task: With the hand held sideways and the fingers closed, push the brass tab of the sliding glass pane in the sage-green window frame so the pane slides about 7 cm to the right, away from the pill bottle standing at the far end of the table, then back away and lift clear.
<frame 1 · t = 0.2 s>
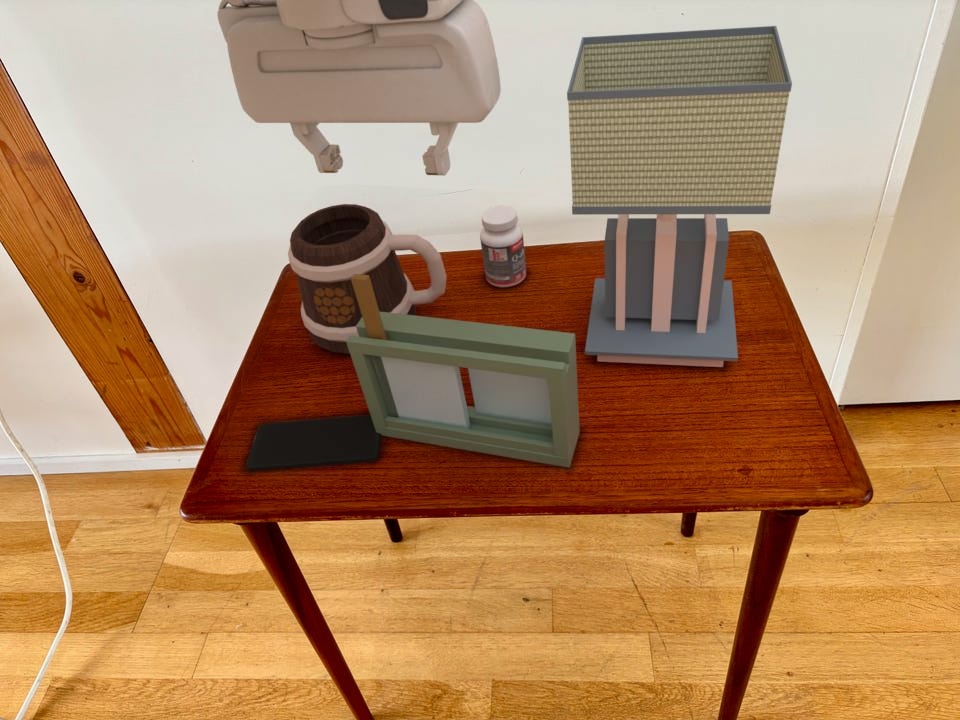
hand: (384, 171, 57), 32 cm above the table, tool pointing down, fingers open, 8 cm apart
window frame: (476, 433, 78), on the table
window pane: (413, 357, 71), point 11 cm above the table, slide at 0.0 cm
desk lamp: (659, 331, 87), on the table
smartphone: (318, 445, 80), on the table
pill bottle: (506, 277, 99), on the table
mug: (381, 321, 95), on the table
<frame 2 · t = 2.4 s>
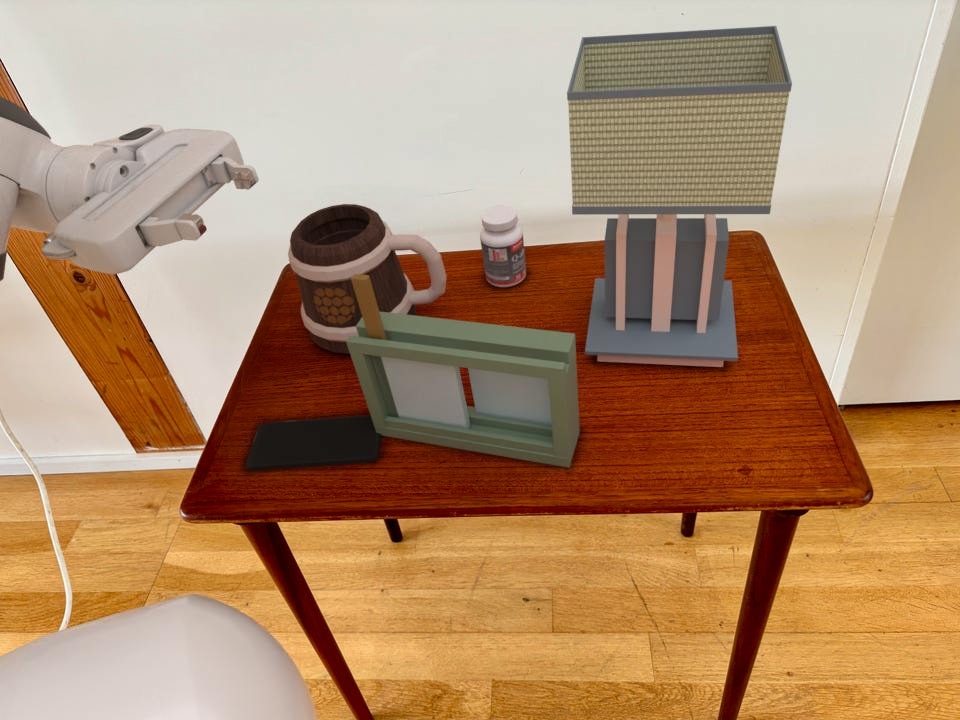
hand: (227, 201, 65), 28 cm above the table, tool horizontal, fingers open, 7 cm apart
nothing on the table moved.
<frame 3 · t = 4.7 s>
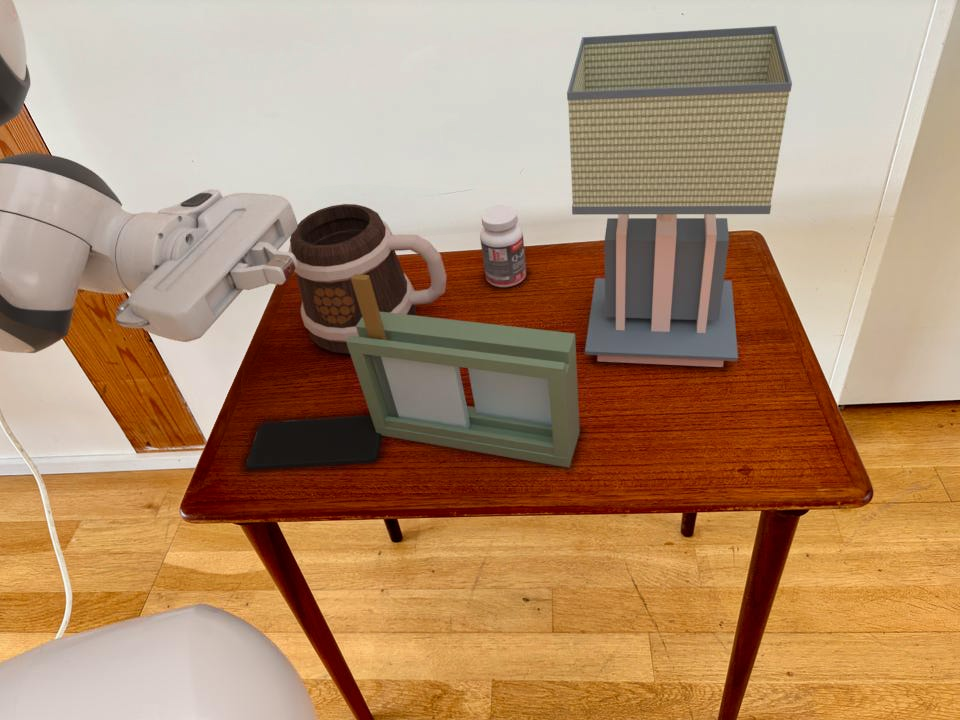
hand: (289, 268, 68), 21 cm above the table, tool horizontal, fingers closed
nothing on the table moved.
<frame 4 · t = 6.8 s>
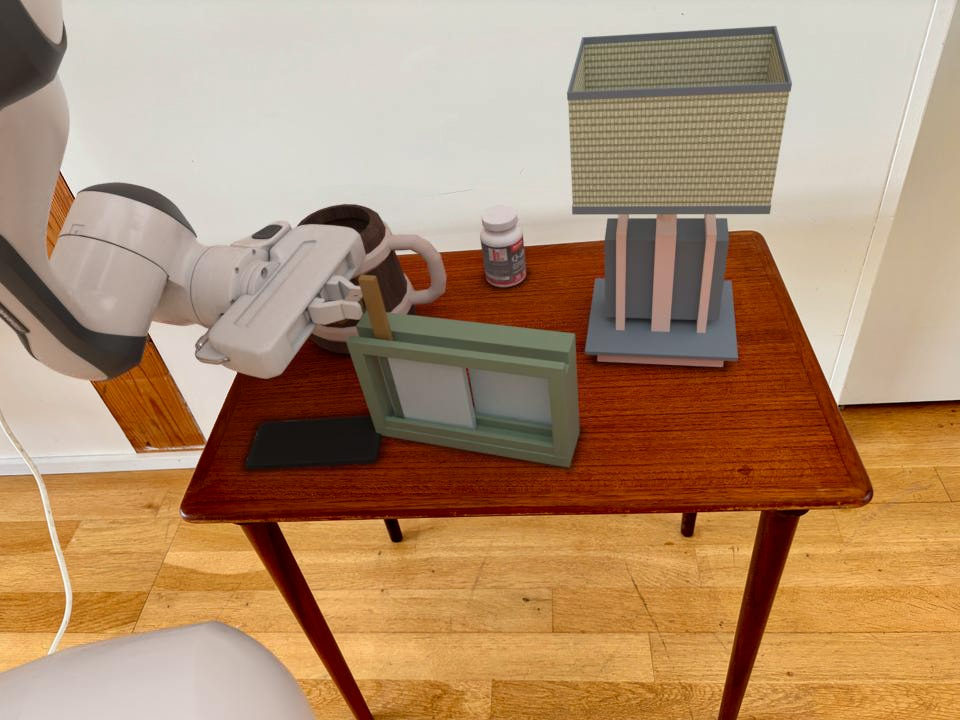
hand: (366, 303, 68), 18 cm above the table, tool horizontal, fingers closed, pressing on window pane
window pane: (420, 358, 71), point 11 cm above the table, slide at 0.7 cm, touching gripper
everything else where it was.
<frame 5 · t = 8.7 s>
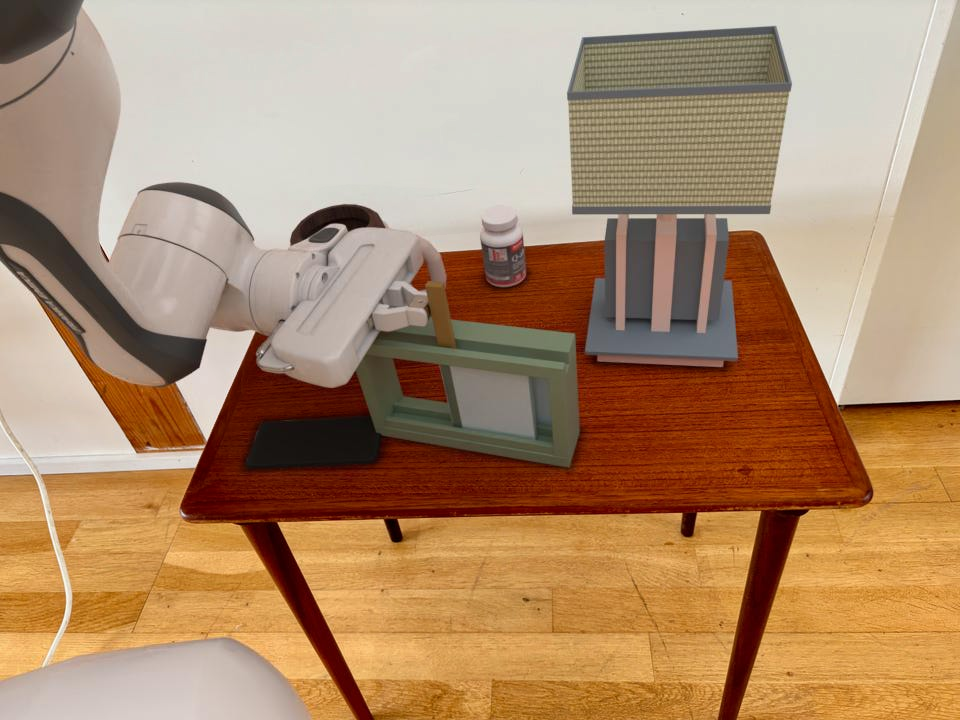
hand: (431, 310, 66), 18 cm above the table, tool horizontal, fingers closed, pressing on window pane
window pane: (484, 367, 69), point 11 cm above the table, slide at 7.5 cm, touching gripper
everything else where it was.
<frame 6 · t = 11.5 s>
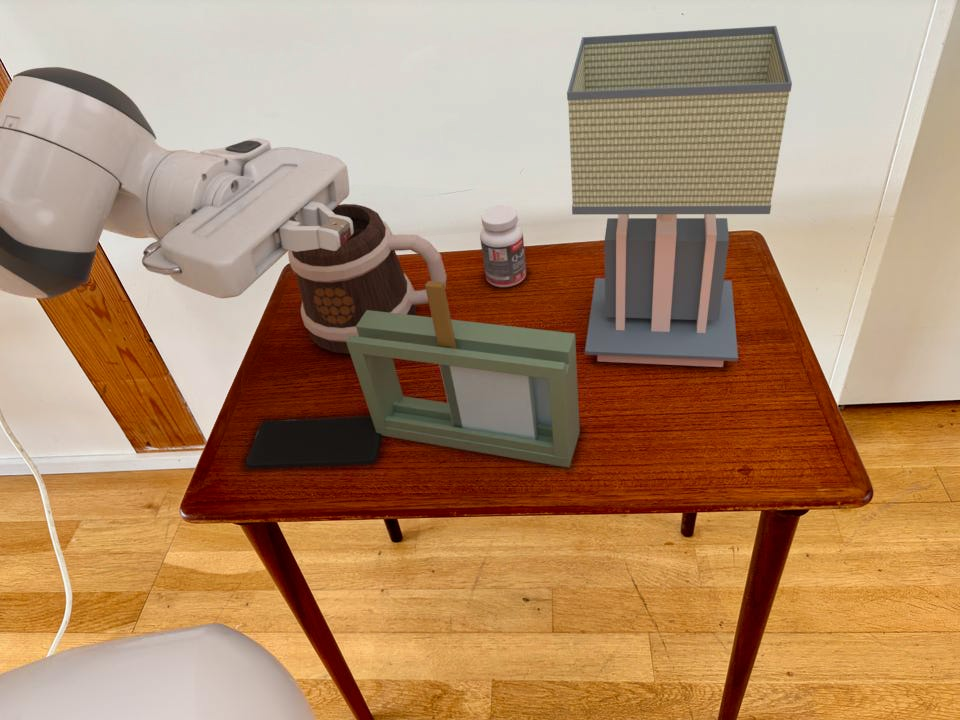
hand: (345, 234, 61), 27 cm above the table, tool horizontal, fingers closed
window pane: (484, 367, 69), point 11 cm above the table, slide at 7.5 cm
everything else where it was.
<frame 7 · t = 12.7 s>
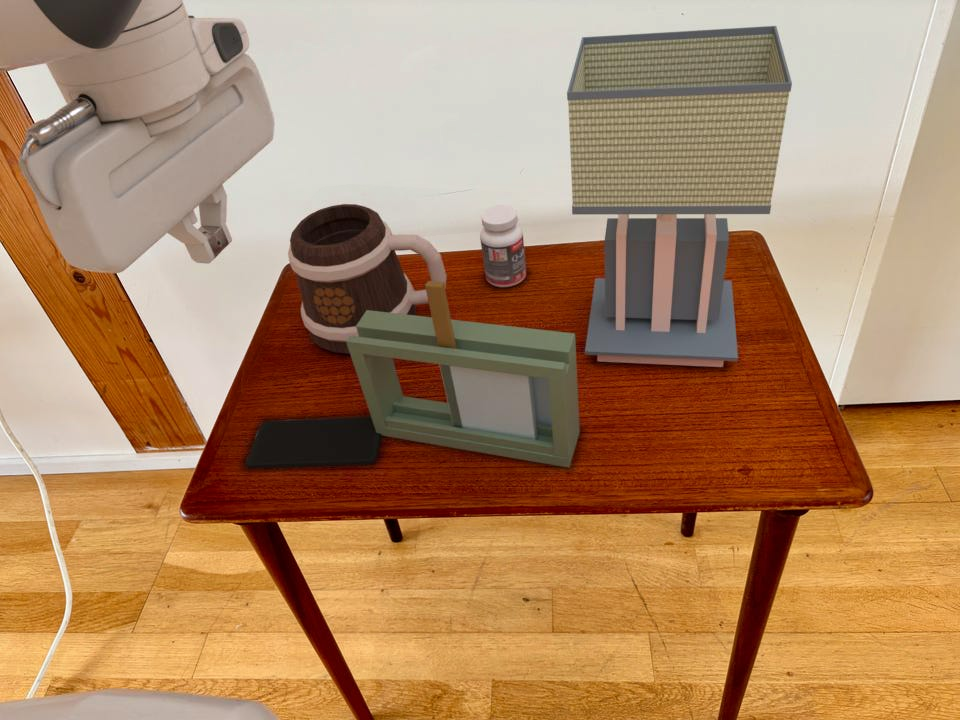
hand: (213, 252, 54), 30 cm above the table, tool pointing down, fingers closed
nothing on the table moved.
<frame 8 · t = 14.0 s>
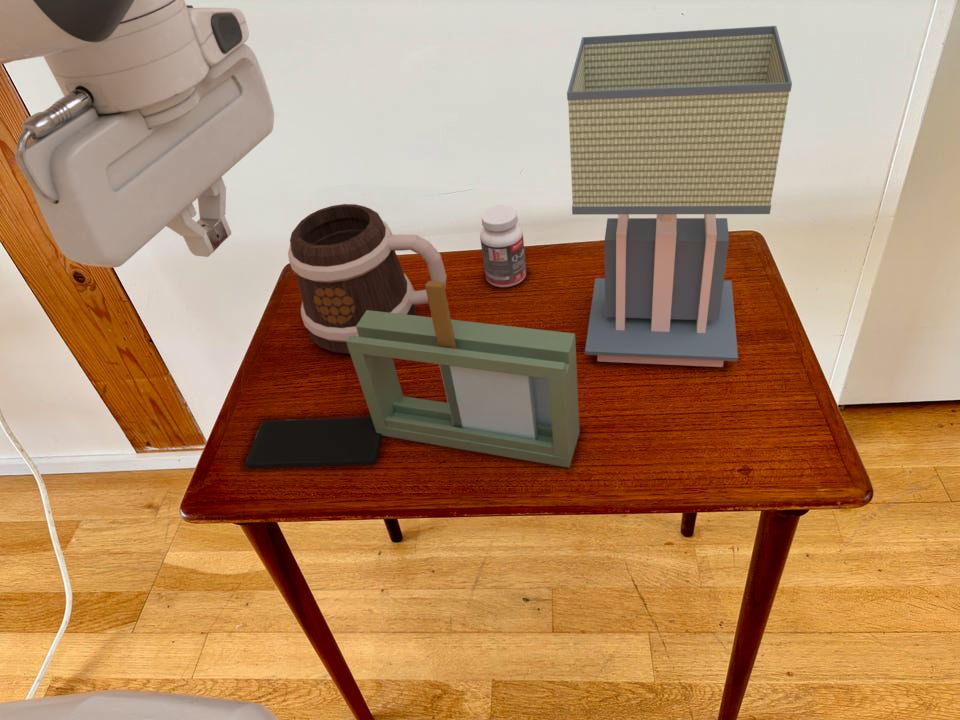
hand: (212, 245, 53), 31 cm above the table, tool pointing down, fingers closed
nothing on the table moved.
at the end: window pane slide at 7.5 cm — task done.
